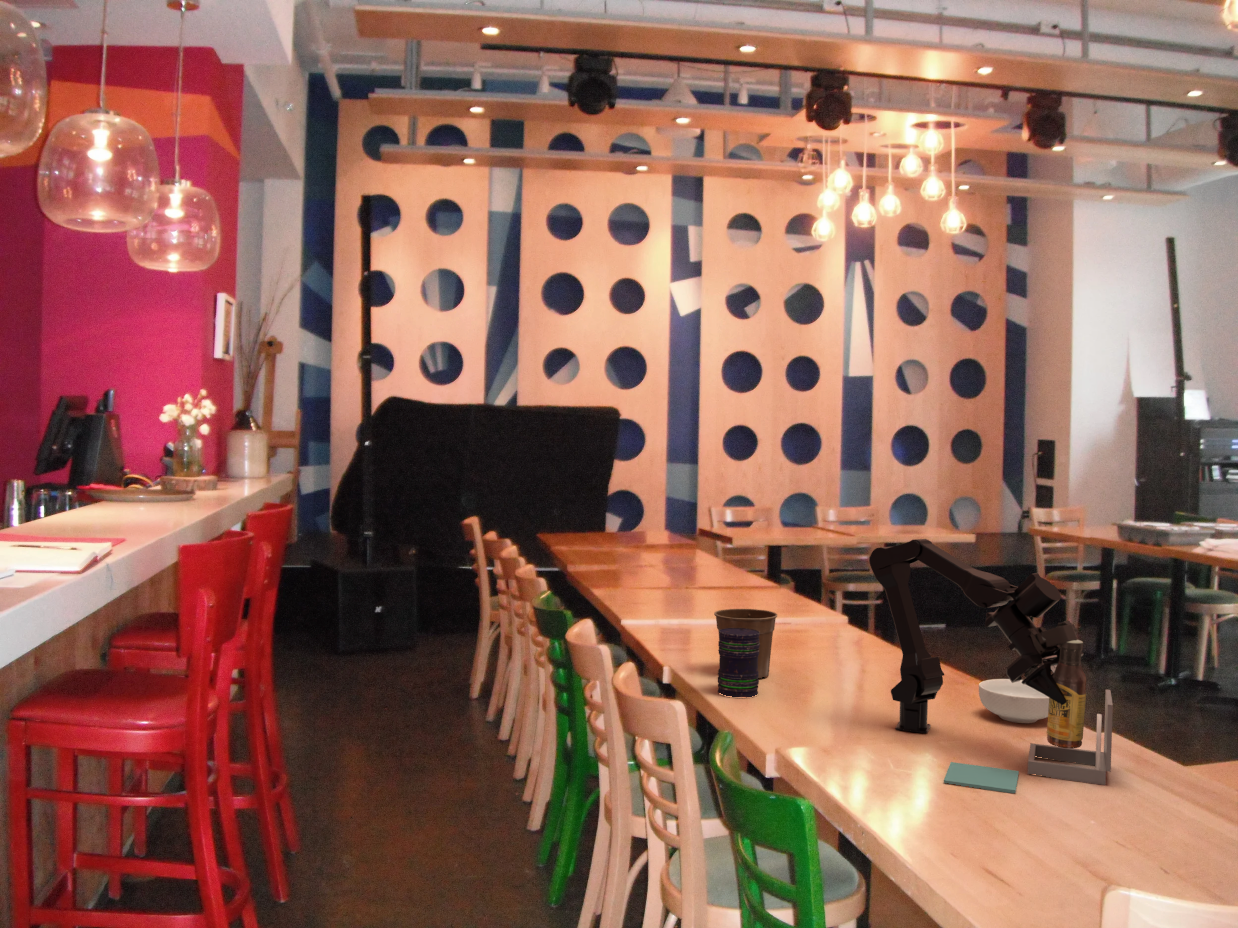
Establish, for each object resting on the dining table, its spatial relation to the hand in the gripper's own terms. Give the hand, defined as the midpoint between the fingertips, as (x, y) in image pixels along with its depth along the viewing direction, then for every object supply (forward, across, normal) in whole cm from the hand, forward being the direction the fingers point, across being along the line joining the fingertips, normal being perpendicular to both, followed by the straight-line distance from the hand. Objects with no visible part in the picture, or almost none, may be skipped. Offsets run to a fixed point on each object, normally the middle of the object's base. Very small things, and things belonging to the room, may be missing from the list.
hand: (1073, 700), depth 195 cm
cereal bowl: (-9, +27, +29) cm, 41 cm away
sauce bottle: (+5, 0, +7) cm, 9 cm away
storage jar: (-45, -9, +66) cm, 80 cm away
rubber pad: (+4, -18, +14) cm, 23 cm away
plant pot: (-55, +7, +75) cm, 94 cm away
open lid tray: (+9, 0, +10) cm, 13 cm away
